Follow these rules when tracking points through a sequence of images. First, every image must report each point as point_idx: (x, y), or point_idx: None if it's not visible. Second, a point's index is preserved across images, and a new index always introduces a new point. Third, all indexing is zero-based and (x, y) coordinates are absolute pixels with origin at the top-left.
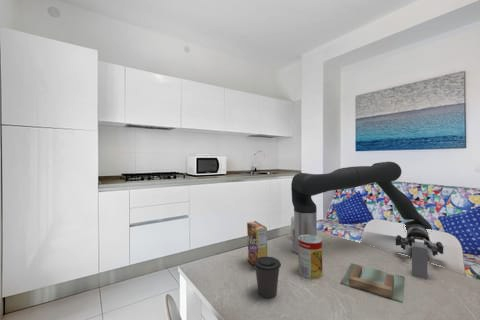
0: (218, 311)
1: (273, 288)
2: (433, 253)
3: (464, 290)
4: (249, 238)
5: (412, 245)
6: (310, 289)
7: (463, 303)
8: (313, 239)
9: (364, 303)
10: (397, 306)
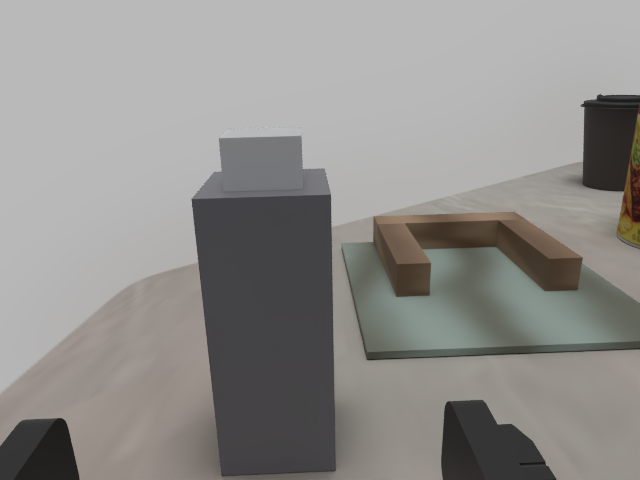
0: None
1: (583, 159)
2: (67, 456)
3: (48, 395)
4: None
5: (321, 173)
6: (567, 210)
7: (135, 309)
8: None
9: None
10: (351, 238)
